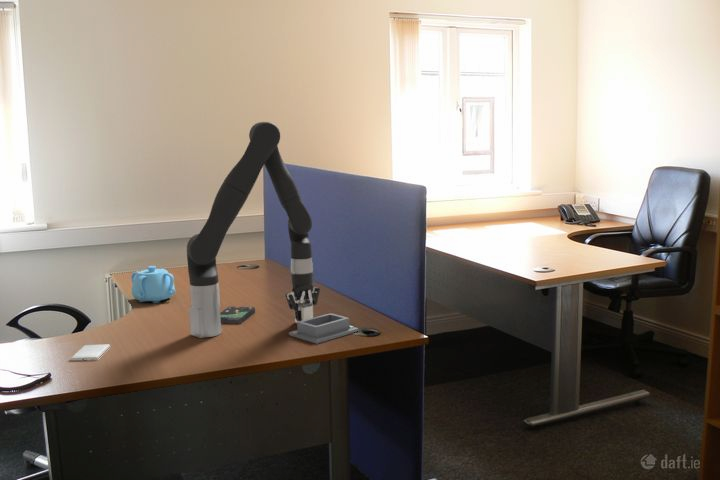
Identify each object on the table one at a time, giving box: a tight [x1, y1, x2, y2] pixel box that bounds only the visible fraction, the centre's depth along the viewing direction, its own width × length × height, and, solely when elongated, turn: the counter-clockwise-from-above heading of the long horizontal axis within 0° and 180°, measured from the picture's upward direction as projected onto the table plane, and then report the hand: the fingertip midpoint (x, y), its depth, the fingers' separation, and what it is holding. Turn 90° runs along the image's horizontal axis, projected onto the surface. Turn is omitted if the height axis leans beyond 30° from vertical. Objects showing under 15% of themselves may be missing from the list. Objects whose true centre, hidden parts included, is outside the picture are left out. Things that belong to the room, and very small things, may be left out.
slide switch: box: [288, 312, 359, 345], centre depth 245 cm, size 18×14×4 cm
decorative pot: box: [131, 265, 177, 304], centre depth 297 cm, size 16×16×14 cm
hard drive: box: [69, 343, 111, 361], centre depth 231 cm, size 2×8×12 cm
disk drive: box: [220, 306, 256, 325], centre depth 268 cm, size 10×3×15 cm
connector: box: [294, 300, 314, 324], centre depth 258 cm, size 4×5×7 cm
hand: (304, 319), depth 259 cm, fingers closed on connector, 4 cm apart
